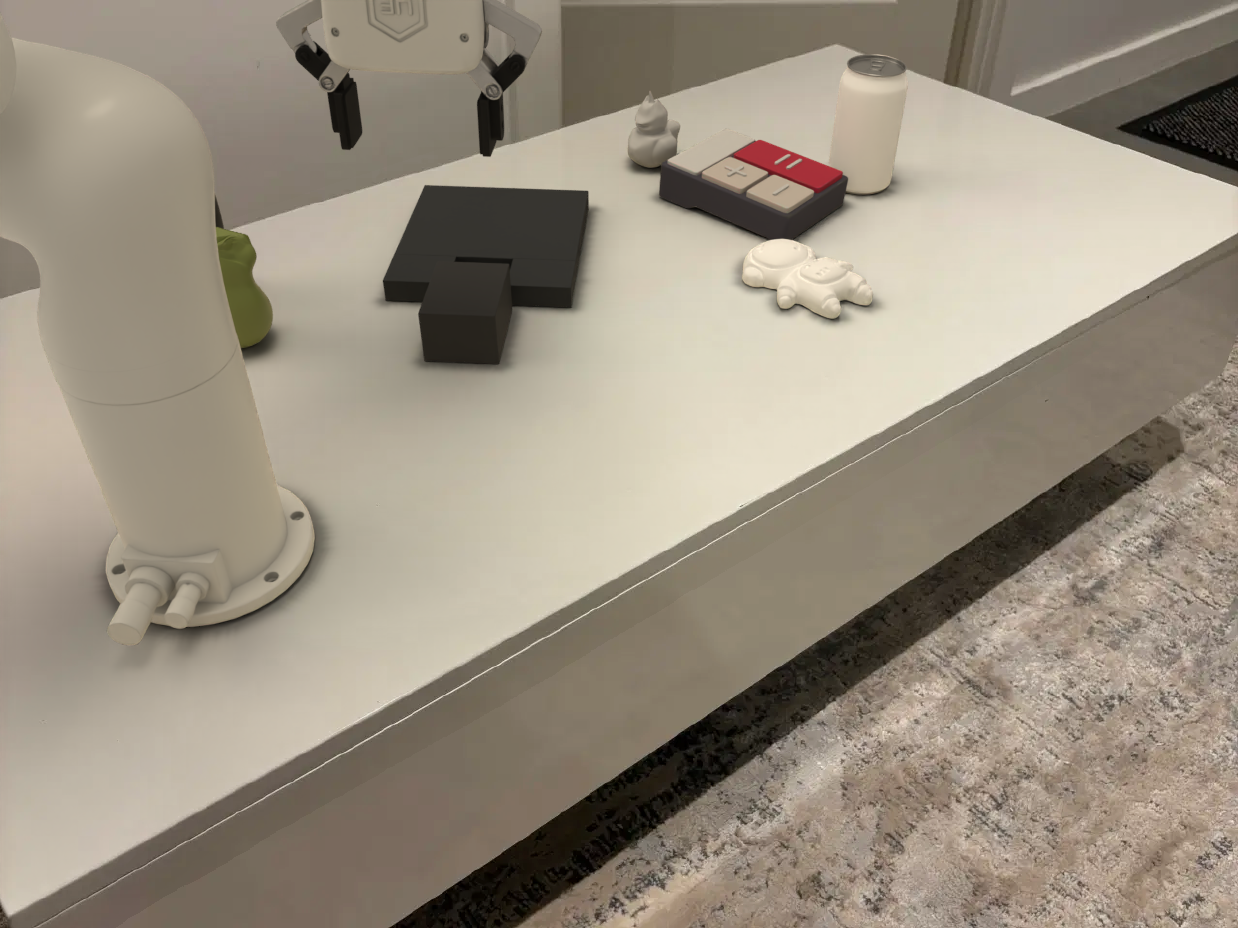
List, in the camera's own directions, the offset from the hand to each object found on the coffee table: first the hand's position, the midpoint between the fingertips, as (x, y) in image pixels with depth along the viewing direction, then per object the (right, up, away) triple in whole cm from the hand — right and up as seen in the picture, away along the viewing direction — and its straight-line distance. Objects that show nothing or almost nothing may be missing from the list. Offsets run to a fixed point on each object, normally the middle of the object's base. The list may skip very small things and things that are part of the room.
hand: (420, 146), depth 76 cm
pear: (-17, -12, +12) cm, 24 cm away
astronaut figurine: (+30, -7, +19) cm, 36 cm away
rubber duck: (+18, +9, +38) cm, 43 cm away
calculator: (+27, +4, +32) cm, 42 cm away
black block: (+2, -10, +15) cm, 18 cm away
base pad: (+2, -3, +24) cm, 24 cm away
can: (+38, +6, +35) cm, 52 cm away
